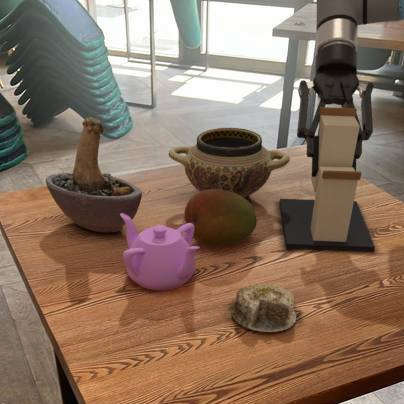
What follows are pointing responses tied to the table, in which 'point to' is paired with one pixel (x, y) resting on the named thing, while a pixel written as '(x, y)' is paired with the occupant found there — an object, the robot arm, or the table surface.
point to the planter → (93, 188)
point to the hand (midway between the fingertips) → (333, 174)
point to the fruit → (220, 217)
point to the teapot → (159, 255)
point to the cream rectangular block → (336, 138)
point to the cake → (264, 308)
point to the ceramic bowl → (229, 161)
